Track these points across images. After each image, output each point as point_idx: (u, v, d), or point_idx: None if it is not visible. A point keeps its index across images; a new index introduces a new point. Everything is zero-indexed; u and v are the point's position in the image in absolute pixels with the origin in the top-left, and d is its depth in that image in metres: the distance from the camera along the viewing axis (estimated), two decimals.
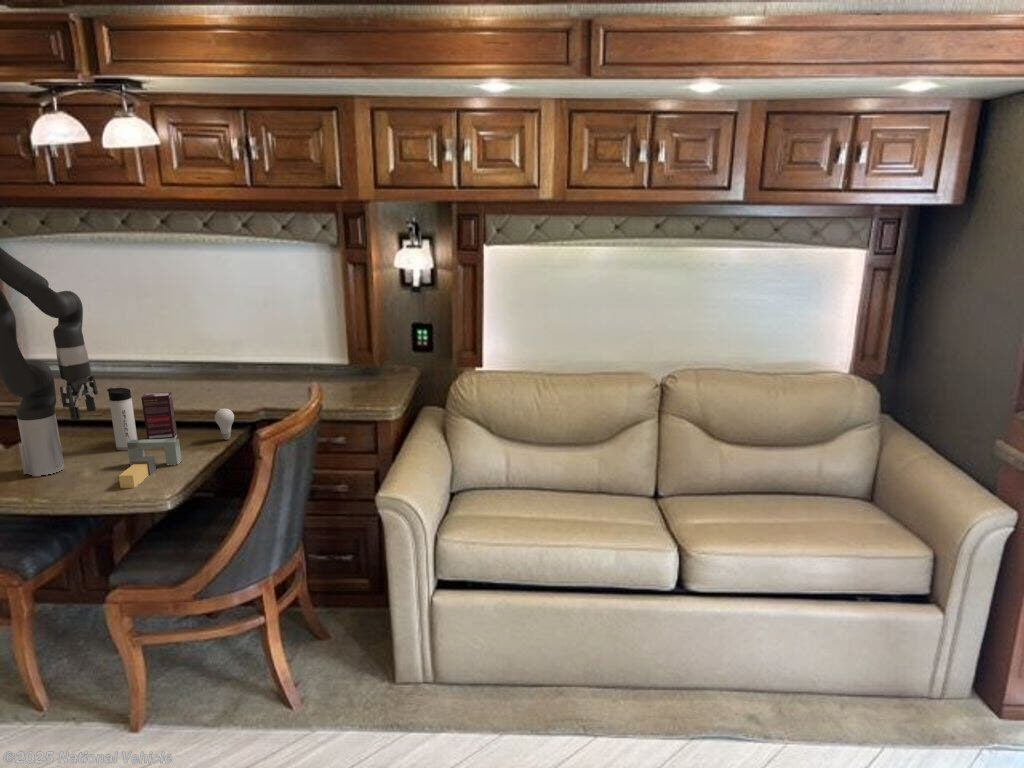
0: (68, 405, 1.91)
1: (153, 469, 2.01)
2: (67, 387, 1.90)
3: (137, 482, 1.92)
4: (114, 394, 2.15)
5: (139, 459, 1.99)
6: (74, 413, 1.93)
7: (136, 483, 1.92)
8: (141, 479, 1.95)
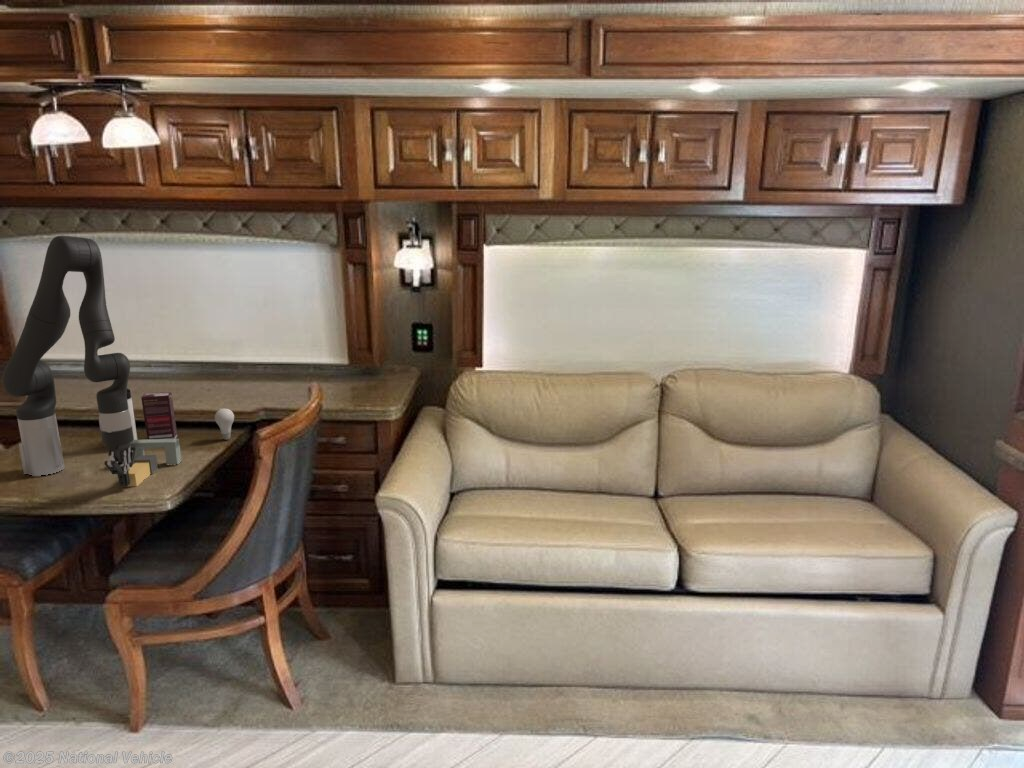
0: (117, 472, 1.85)
1: (155, 468, 2.02)
2: (112, 463, 1.81)
3: (139, 480, 1.93)
4: None
5: (141, 457, 2.00)
6: (123, 480, 1.87)
7: (138, 481, 1.92)
8: (143, 477, 1.95)
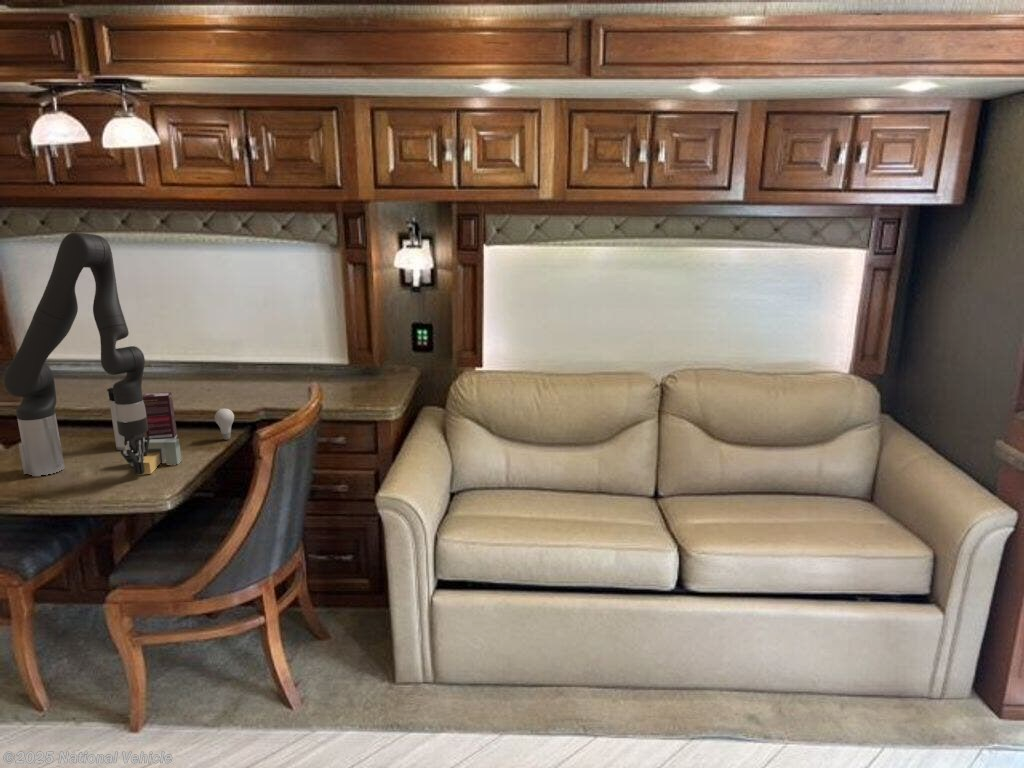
0: (133, 461, 1.93)
1: (164, 457, 2.11)
2: (128, 452, 1.89)
3: (153, 468, 2.02)
4: None
5: None
6: (138, 468, 1.95)
7: (152, 470, 2.01)
8: (155, 466, 2.04)
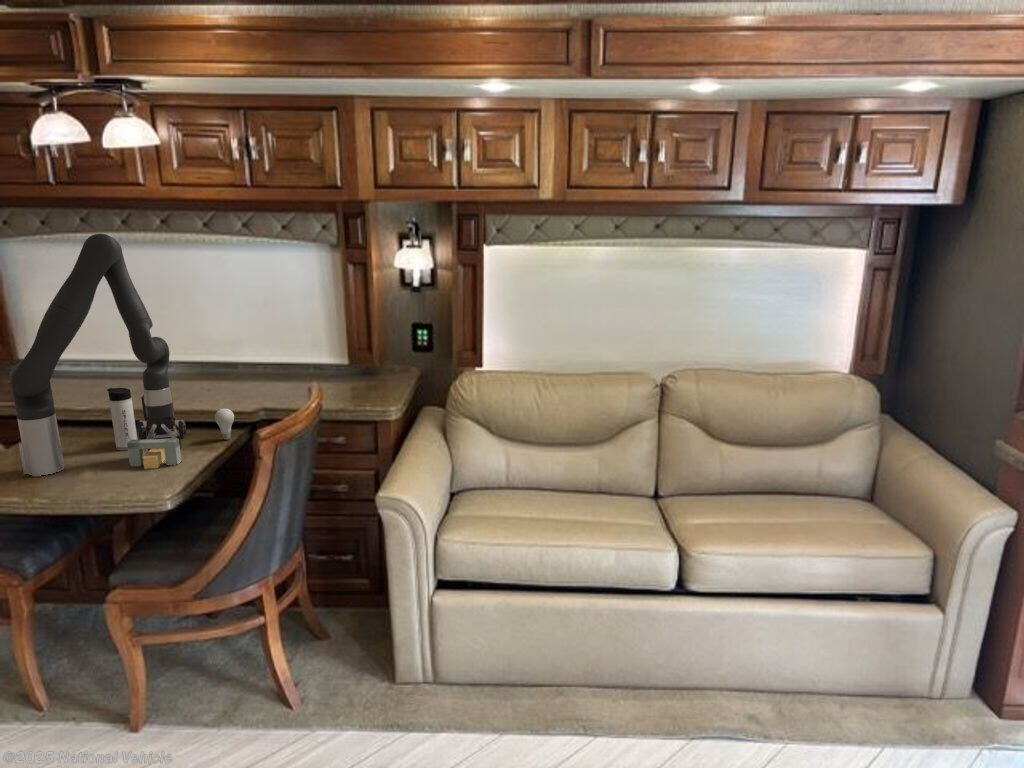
0: None
1: None
2: None
3: (159, 463, 2.07)
4: (114, 394, 2.15)
5: None
6: None
7: (159, 464, 2.06)
8: (162, 461, 2.09)
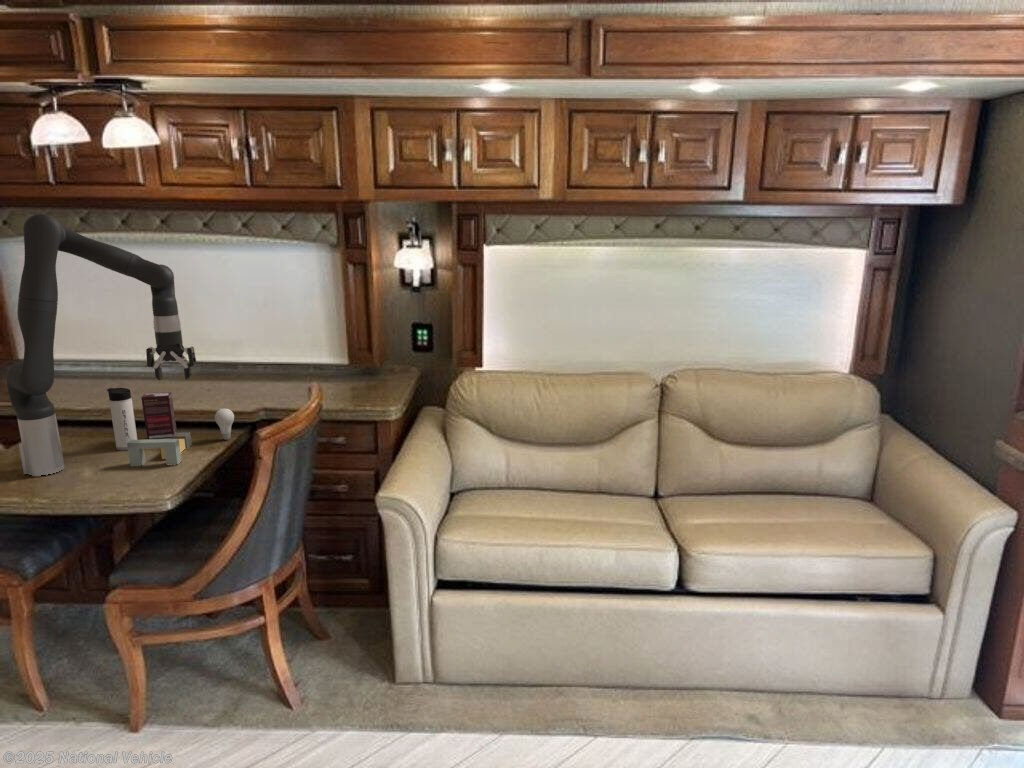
0: None
1: (189, 444, 2.23)
2: (147, 348, 2.13)
3: None
4: (114, 394, 2.15)
5: (177, 434, 2.21)
6: None
7: None
8: (180, 452, 2.16)
